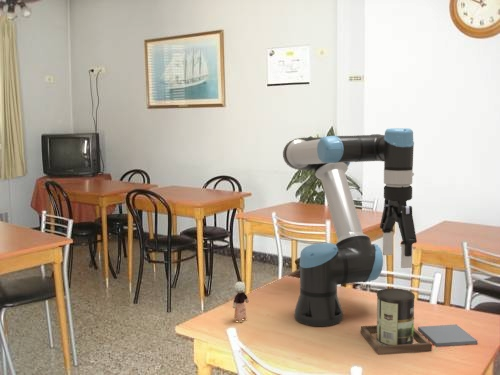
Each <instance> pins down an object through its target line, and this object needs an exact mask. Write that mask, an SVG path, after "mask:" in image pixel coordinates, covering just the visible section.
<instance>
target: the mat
mask: <svg viewBox="0 0 500 375" xmlns="http://www.w3.org/2000/svg"><path fill="white" fill-rule="evenodd" d="M417 331H418V332H419V333H420V334H422V335H423V336H424V337H425V338H426V339H427V340H428V341H429V342H430V343H431V344H432V345H434V346H435V347H436V348H438V347H451V346H452V347H454V346H455V345H456V346H466V345H465V344H471V345H478V340H477V339H476V338H475V337H473V336H472V335H471V334H469V333H468V332H467V331H466V330H464V329H463V328H462V327H461V326H459V325H458V324H441V325H425V326H418V327H417Z"/></svg>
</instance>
